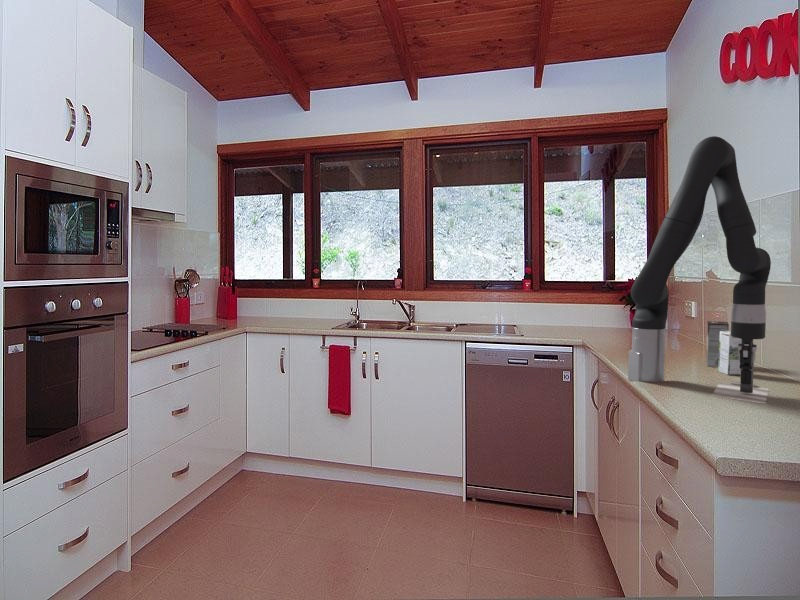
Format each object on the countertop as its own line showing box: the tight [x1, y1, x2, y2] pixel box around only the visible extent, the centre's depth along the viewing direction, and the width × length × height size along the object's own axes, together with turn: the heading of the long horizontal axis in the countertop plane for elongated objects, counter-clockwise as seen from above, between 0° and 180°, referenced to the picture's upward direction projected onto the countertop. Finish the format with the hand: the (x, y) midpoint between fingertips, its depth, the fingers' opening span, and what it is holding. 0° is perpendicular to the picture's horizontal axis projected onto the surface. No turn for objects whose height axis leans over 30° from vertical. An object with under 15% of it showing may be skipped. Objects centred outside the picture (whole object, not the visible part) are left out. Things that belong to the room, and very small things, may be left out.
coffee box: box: [705, 320, 730, 368], centre depth 168 cm, size 9×6×16 cm
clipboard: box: [711, 381, 770, 404], centre depth 127 cm, size 22×14×2 cm, turn 139°
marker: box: [739, 361, 755, 393], centre depth 124 cm, size 3×3×12 cm
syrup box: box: [717, 330, 742, 376], centre depth 154 cm, size 6×6×14 cm
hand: (746, 382), depth 125 cm, fingers closed on marker, 2 cm apart
